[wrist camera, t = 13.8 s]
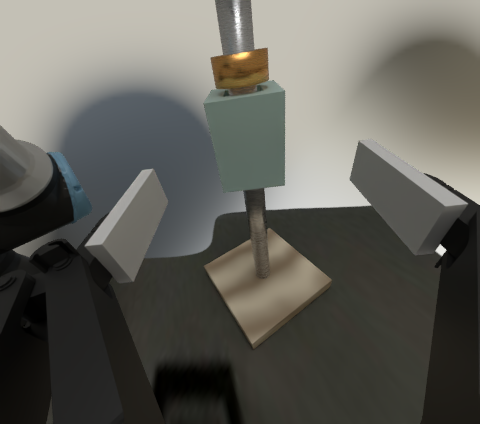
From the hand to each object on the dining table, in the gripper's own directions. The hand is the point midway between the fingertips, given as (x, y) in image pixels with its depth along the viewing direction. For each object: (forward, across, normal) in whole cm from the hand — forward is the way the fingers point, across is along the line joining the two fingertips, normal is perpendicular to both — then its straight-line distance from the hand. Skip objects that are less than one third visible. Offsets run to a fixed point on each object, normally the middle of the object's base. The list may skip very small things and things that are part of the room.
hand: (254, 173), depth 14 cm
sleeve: (+8, 0, -4) cm, 9 cm away
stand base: (+8, 0, -25) cm, 26 cm away
